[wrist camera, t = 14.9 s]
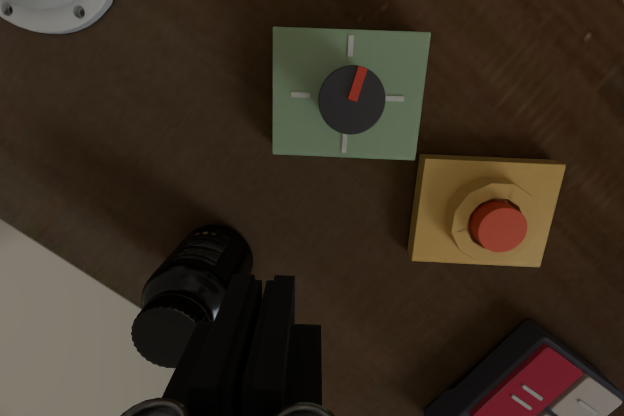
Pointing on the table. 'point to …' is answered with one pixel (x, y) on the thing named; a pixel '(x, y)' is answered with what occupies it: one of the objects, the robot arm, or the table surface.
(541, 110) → the table surface
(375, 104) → the lock dial
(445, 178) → the tan flat block
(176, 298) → the supplement bottle
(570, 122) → the table surface
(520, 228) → the button
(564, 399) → the calculator
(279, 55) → the dial panel
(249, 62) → the table surface
